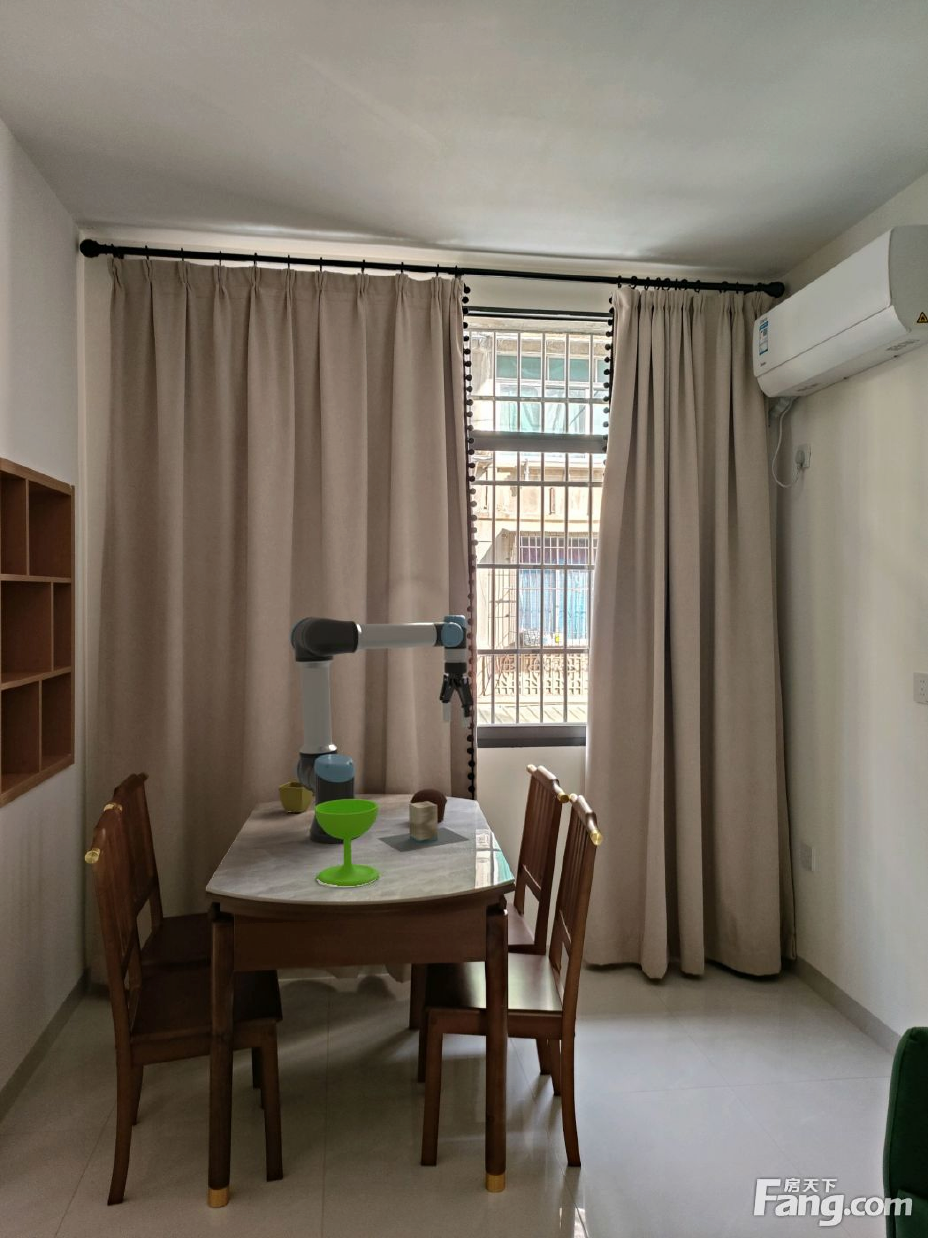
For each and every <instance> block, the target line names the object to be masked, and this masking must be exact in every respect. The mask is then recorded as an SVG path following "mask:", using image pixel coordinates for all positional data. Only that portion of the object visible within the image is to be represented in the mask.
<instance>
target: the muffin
mask: <svg viewBox="0 0 928 1238" xmlns="http://www.w3.org/2000/svg"><path fill="white" fill-rule="evenodd" d="M409 801H410V803H409V804H412V803H419V802H426V801H428V802H431V803H433V804H435V805H437V824H438V823H442V822H443V821H444V819H445V818H444V817H445V811H446V804H447V803H448V799H447V797H446V796H445V794H443V792H441V791H439V790H437V789H433V788H426V789H422V790H421V789H420V790H419V791H417V792H415V793H414V794H413V796H412V798H411V800H409Z"/></svg>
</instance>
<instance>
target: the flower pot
mask: <svg viewBox="0 0 928 1238" xmlns="http://www.w3.org/2000/svg"><path fill="white" fill-rule="evenodd" d="M277 789H278V792H279V799H280V803H281V806H282V807H283V809H284V810H285V812H286V811H291V812H301V813H303V812H305V811H308V809H309V807H310V805H311V802H312V798H313V793H314V792H311V791H309V790H307V789H306V788H304V787H303V786H302V785H301V783H300V782H299V781H289V782H286V783H284V784H282V785H280V786H278V788H277ZM302 811H303V812H302Z"/></svg>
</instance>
